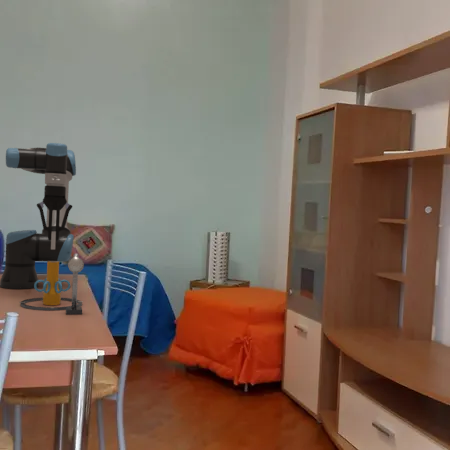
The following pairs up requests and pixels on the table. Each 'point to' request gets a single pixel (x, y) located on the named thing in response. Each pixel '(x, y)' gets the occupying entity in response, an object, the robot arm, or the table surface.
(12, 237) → the robot arm
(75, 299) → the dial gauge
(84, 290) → the table surface
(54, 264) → the cylinder
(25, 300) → the centring ring
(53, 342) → the table surface
